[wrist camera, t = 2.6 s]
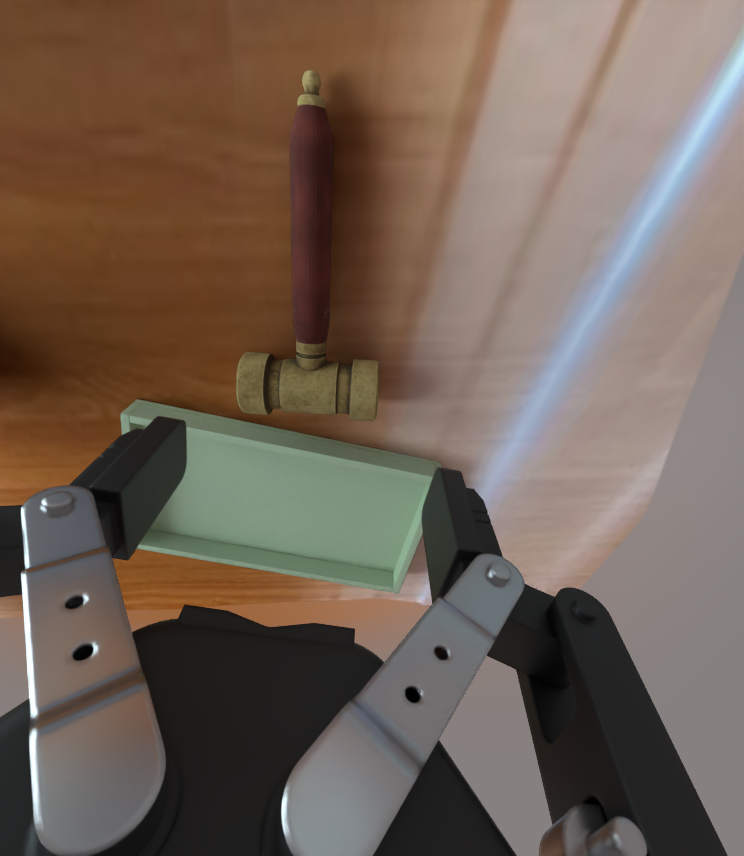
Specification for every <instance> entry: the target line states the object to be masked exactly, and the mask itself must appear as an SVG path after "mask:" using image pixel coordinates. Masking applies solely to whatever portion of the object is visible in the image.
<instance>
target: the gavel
mask: <svg viewBox="0 0 744 856" xmlns="http://www.w3.org/2000/svg"><path fill="white" fill-rule="evenodd" d="M320 86H321V81H320V77H319V74H318V73H316V72H314V71H312V70H311V71H306V72H305V73H304V75H303V87H304V89H305V94H303V95H301V96H300V97H299V99H298V107H297V111H296V115H295V119H294V122H293V126H292V130H291V133H290V186H291V241H292V296H293V325H294V331H295V336H296V350H297V352H298V353H297V354H296V359H284V361H280V360H275V358H274V356H273V354H270V353H255V352H246V353H244V355H243V356H242V358H241V359H240V361H239V365H238V369H237V376H236V395H237V401H238V404H239V407H240V408H241V410H242V412H243V413H247V414H264V415H270V414H271V412H272V410H273V409H282V411H283V412H298V413H314V414H330V415H336V414H337V413H347V414H349V415H350V420H360V421H374V420H375V419H376V415H377V405H378V392H379V373H380V364H379V362H378V361H377V360H362V359H354V360H353V364H352V365H342V364H340V363H339V362H328V361H326V354H325V352H326V340H327V334H328V329H329V321H330V271H331V221H332V171H333V138H332V134H331V130H330V126H329V122H328V118H327V114H326V110H325V101H324V99H323V98H321V97H320V96H319V89H320Z"/></svg>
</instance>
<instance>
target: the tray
mask: <svg viewBox="0 0 744 856" xmlns="http://www.w3.org/2000/svg"><path fill="white" fill-rule="evenodd" d="M157 416H164V417H169V418H175V419H180V420H184V421H185V422H186V429H187V465H186V470H185V474H184V476H183V479H182V481H181V482H180V484H179V485H178V487H177V488H176V490H175V491H174V493H173V494H172V496H171V497H170V499H169V500H168V502H167V503H166V505H165V506H164V508H163V509H162V511H161V512H160V514H159V515H158V517H157V518H156V520H155V521H154V523H153V524H152V526H151V527H150V529H149V530H148V532H147V533H146V535H145V536H144V538H143V539H142V541H141V542H140V544H139V545H138V547H137V548H136V549H141V550H147V551H153V552H159V553H165V554H170V555H176V556H182V557H188V558H194V559H200V560H206V561H211V562H217V563H223V564H229V565H235V566H241V567H246V568H252V569H258V570H264V571H270V572H276V573H281V574H287V575H293V576H299V577H305V578H311V579H317V580H322V581H328V582H334V583H340V584H346V585H352V586H357V587H363V588H369V589H375V590H381V591H387V592H393V593H399V591H400V588H401V586H402V583H403V581H404V578H405V576H406V573H407V571H408V568H409V566H410V563H411V561H412V558H413V556H414V553H415V551H416V548H417V546H418V544H419V541H420V539H421V536H422V534H423V530H422V522H421V516H422V508H423V504H424V501H425V498H426V495H427V493H428V490H429V487H430V484H431V481H432V478H433V476H434V473H435V471H436V469H437V468H438V467H440V468H442V466H441V462H438V461H433V460H428V459H424V458H419V457H414V456H409V455H404V454H399V453H395V452H390V451H385V450H380V449H375V448H370V447H366V446H361V445H356V444H351V443H346V442H342V441H337V440H332V439H327V438H322V437H317V436H313V435H308V434H303V433H298V432H293V431H289V430H284V429H279V428H274V427H269V426H264V425H260V424H255V423H250V422H245V421H240V420H236V419H231V418H226V417H221V416H216V415H211V414H207V413H202V412H197V411H192V410H187V409H182V408H178V407H173V406H168V405H163V404H158V403H154V402H149V401H144V400H139V399H136V400H135V401H134V403H132V404H131V405H130V406H128V407H127V408H126V409H125V410H124V411H123V412H122V413H121V428H122V435H123V434H125V433H127V432H129V431H131V430H134V429H136V428H139V429H145V428H146V427H147V426H148V425H149V424H150V423H151V422H152V421H153V420H154V419H155V418H156V417H157Z"/></svg>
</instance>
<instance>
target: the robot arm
mask: <svg viewBox="0 0 744 856" xmlns="http://www.w3.org/2000/svg"><path fill="white" fill-rule="evenodd" d="M186 465H187V429H186V422H185V421H184V420H180V419H175V418H169V417H164V416H157V417H156V418H155V419H154V420H153V421H152V422H151V423H150V424H149V425H148V426H147V427H146V428H145V429H139V428H136V429H134V430H131V431H129V432H127V433H125V434H123V435H121V436H119V437H118V438H117V439H116V440H115V441H114V442H113V443H112V444H111V445H110V447H109V448H107V449H106V450H105V451H104V452H103V453H102V454H101V456H100V457H98V458H97V459H96V460H95V461H93V462H92V463H91V464H90V465H89V466H88V467H87V468H86V469H85V470H84V471H83V472H82V473H81V474H80V475H79V476H78V477H77V478H76V479H75V480H74V481H73V482H72V483H71V484H70V485H66V486H57V487H52V488H48V489H45V490H43V491H40V492H38V493H36V494H34V495H33V496H31V497H30V498H29V499H28V500H27V501H26V502H25V503H24V504H23V505H15V506H0V597H5V596H13V595H23V610H24V624H25V638H26V653H27V668H28V682H29V696H30V698H29V699H28V700H26V701H24V702H23V703H21V704H20V705H18V706H17V707H15V708H14V709H12V710H11V711H9V712H8V713H6V714H5V715H3V716H1V717H0V856H517V855H516V854H515V852H514V851H513V850H512V848H511V847H510V845H509V844H508V842H507V841H506V839H505V838H504V836H503V835H502V833H501V832H500V830H499V829H498V827H497V826H496V824H495V823H494V821H493V820H492V818H491V817H490V815H489V814H488V812H487V811H486V809H485V808H484V806H483V805H482V803H481V802H480V800H479V799H478V797H477V796H476V794H475V793H474V792H473V790H472V789H471V787H470V786H469V784H468V783H467V781H466V780H465V778H464V777H463V775H462V774H461V772H460V771H459V769H458V768H457V766H456V765H455V763H454V762H453V760H452V759H451V757H450V756H449V754H448V753H447V751H446V750H445V748H444V747H443V745H442V744H441V742H440V741H439V738H440V737H441V735H442V733H443V731H444V729H445V728H446V726H447V724H448V722H449V720H450V719H451V717H452V715H453V714H454V712H455V710H456V708H457V707H458V704H459V703H460V701H461V699H462V698H463V696H464V694H465V692H466V691H467V689H468V687H469V686H470V684H471V682H472V680H473V678H474V677H475V675H476V673H477V671H478V670H479V668H480V666H481V664H482V663H483V661H484V659H485V657H486V656H489V657H491V658H493V659H495V660H497V661H499V662H502V663H504V664H506V665H508V666H510V667H512V668H514V669H516V671H517V675H518V679H519V683H520V688H521V692H522V696H523V701H524V705H525V709H526V713H527V718H528V722H529V726H530V730H531V735H532V739H533V743H534V748H535V752H536V756H537V760H538V765H539V769H540V773H541V778H542V782H543V786H544V790H545V795H546V799H547V803H548V807H549V811H550V816H551V820H552V826H551V827H550V828H549V829H548V830H547V831H546V832H545V834H544V835H543V837H542V840H541V842H540V847H539V856H727V854H726V852H725V849H724V847H723V845H722V843H721V841H720V839H719V837H718V835H717V833H716V831H715V829H714V827H713V825H712V823H711V821H710V819H709V817H708V815H707V813H706V811H705V808H704V806H703V805H702V802H701V800H700V798H699V797H698V794H697V792H696V790H695V788H694V786H693V784H692V782H691V780H690V778H689V776H688V774H687V772H686V770H685V767H684V765H683V763H682V762H681V759H680V757H679V755H678V753H677V751H676V749H675V747H674V745H673V743H672V741H671V739H670V737H669V735H668V733H667V731H666V729H665V727H664V725H663V723H662V721H661V718H660V716H659V714H658V712H657V710H656V708H655V706H654V704H653V702H652V700H651V698H650V696H649V694H648V692H647V690H646V688H645V686H644V684H643V682H642V679H641V678H640V675H639V673H638V671H637V670H636V667H635V665H634V663H633V661H632V659H631V657H630V655H629V653H628V651H627V649H626V647H625V645H624V643H623V640H622V638H621V637H620V634H619V632H618V630H617V628H616V626H615V624H614V622H613V620H612V618H611V616H610V614H609V612H608V611H607V610H606V608H605V607H604V606H603V605H602V604H601V603H600V602H599V601H598V600H597V599H595V598H594V597H593V596H591V595H590V594H588V593H586V592H584V591H582V590H579V589H576V588H563V589H561V590H560V591H559V592H558V593H557V595H556V596H555V597H553V596H551V595H549V594H546V593H544V592H542V591H539V590H537V589H535V588H532V587H530V586H528V585H527V584H525V583H524V579H523V577H522V575H521V573H520V572H519V570H518V569H517V568H516V567H515V566H514V565H513V564H512V563H511V562H509V561H508V560H506V559H504V558H503V556H502V553H501V550H500V547H499V544H498V541H497V539H496V536H495V533H494V530H493V527H492V525H491V521H490V518H489V515H487V513H488V512H487V509H486V506H485V503H484V501H483V499H482V498H481V497H480V496H479V495H478V493H477V492H476V491H475V490H474V489H470V488H466V486H465V483H464V479H463V476H462V473H461V472H460V471H456V470H450V469H445V468H440V467H438V468H437V469H436V471H435V473H434V476H433V478H432V481H431V484H430V487H429V490H428V493H427V495H426V498H425V501H424V504H423V508H422V516H421V522H422V530H423V537H424V545H425V552H426V560H427V567H428V574H429V582H430V589H431V597H432V605H431V606H430V607H429V609H428V610H427V611H426V612H425V614H424V615H423V616H422V617H421V618H420V620H419V621H418V622H417V623H416V625H415V626H414V627H413V628H412V629H411V631H410V632H409V633H408V634H407V636H406V637H405V638H404V639H403V640H402V642H401V643H400V644H399V645H398V647H397V648H396V649H395V650H394V651H393V653H392V654H391V655H390V656H389V658H388V659H387V660H386V661H385V662H383V661H382V660H381V659H380V658H379V657H378V656H377V655H375V654H374V653H372V652H371V651H369V650H368V649H366V648H365V647H363V646H361V645H359V644H356V643H354V637H355V629H353V628H346V627H339V626H332V625H325V624H318V623H310V624H300V625H289V626H279V627H267V626H264V625H261V624H259V623H256V622H254V621H251V620H249V619H247V618H244V617H242V616H239V615H237V614H234V613H232V612H229V611H225V610H218V609H212V608H205V607H197V606H190V605H184V607H183V609H182V611H181V613H180V616H179V618H178V619H170V620H165V621H160V622H157V623H154V624H151V625H148V626H145V627H143V628H140V629H138V630H136V631H134V632H132V631H131V627H130V624H129V620H128V616H127V613H126V609H125V605H124V601H123V597H122V594H121V590H120V586H119V582H118V579H117V575H116V571H115V567H114V564H113V560H112V558H116V559H122V560H129V558H130V557H131V556H132V554H133V553H134V551H135V550H136V548H137V547H138V545H139V544H140V542H141V541H142V539H143V538H144V536H145V535H146V533H147V532H148V530H149V529H150V527H151V526H152V524H153V523H154V521H155V520H156V518H157V517H158V515H159V514H160V512H161V511H162V509H163V508H164V506H165V505H166V503H167V502H168V500H169V499H170V497H171V496H172V494H173V493H174V491H175V490H176V488H177V487H178V485H179V484H180V482H181V481H182V479H183V476H184V474H185V470H186Z"/></svg>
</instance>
